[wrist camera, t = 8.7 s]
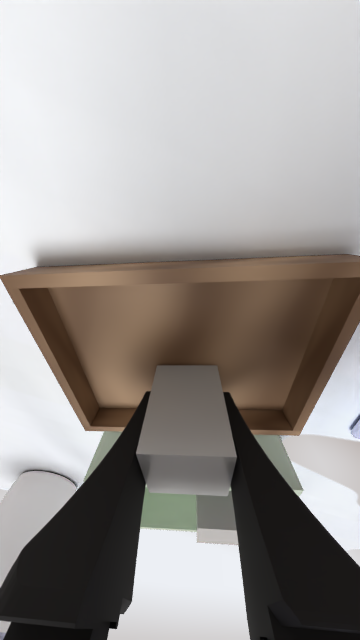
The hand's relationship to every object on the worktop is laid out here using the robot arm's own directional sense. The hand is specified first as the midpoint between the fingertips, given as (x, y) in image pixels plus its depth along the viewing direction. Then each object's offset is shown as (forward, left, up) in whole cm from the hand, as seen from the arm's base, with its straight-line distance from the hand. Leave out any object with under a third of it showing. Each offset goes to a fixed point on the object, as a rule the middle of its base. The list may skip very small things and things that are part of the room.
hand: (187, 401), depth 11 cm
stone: (0, 0, -1) cm, 1 cm away
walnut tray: (0, -3, -2) cm, 3 cm away
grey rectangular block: (-2, +10, -1) cm, 11 cm away
